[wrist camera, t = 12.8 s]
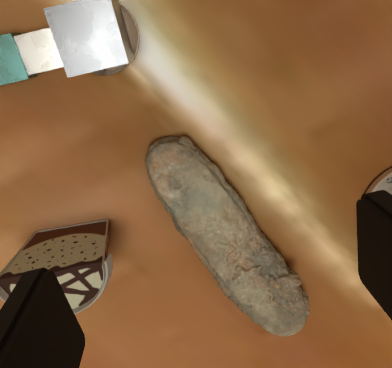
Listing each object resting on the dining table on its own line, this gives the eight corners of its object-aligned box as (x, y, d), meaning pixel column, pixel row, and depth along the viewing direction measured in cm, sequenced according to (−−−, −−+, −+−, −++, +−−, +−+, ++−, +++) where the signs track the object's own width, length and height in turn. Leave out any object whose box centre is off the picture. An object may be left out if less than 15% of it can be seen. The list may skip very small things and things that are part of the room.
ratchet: (127, -10, 34) (118, -21, 27) (147, 64, 36) (142, 70, 30) (-35, 30, 34) (-81, 28, 28) (-3, 100, 37) (-39, 113, 30)
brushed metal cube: (119, 0, 32) (108, -7, 26) (134, 59, 34) (128, 63, 28) (64, 13, 32) (43, 8, 26) (83, 71, 34) (67, 77, 28)
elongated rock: (193, 111, 40) (127, 155, 43) (193, 120, 36) (118, 170, 38) (322, 306, 52) (264, 334, 54) (335, 334, 47) (271, 363, 49)
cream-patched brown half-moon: (39, 272, 46) (7, 331, 37) (23, 233, 43) (-15, 285, 34) (131, 256, 46) (122, 311, 37) (120, 216, 43) (107, 264, 34)
